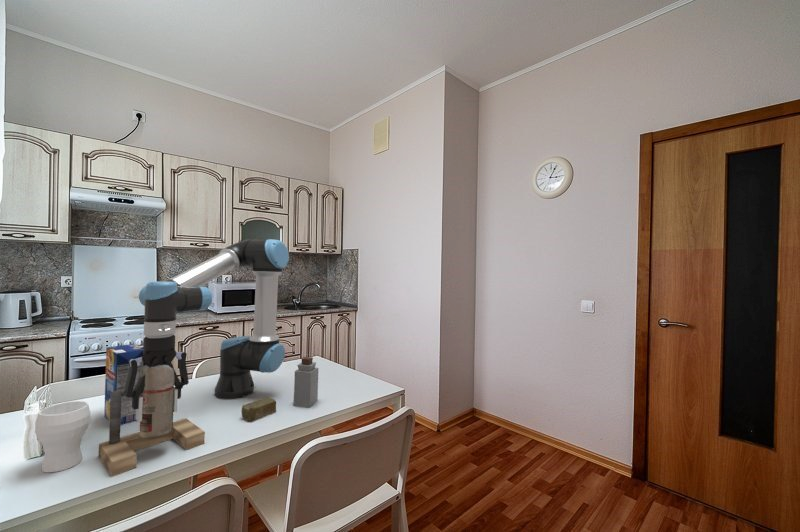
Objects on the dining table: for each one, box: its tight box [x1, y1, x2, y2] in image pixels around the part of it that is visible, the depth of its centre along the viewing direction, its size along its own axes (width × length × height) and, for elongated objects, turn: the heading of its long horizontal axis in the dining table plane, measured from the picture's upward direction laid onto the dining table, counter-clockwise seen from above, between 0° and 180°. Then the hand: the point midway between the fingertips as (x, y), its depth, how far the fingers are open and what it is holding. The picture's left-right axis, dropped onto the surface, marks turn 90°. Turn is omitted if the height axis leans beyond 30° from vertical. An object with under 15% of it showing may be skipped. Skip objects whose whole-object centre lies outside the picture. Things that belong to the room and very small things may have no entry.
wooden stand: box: [98, 391, 206, 477], centre depth 101 cm, size 14×22×18 cm, turn 142°
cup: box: [34, 400, 92, 473], centre depth 93 cm, size 11×11×15 cm
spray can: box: [138, 364, 175, 439], centre depth 100 cm, size 8×8×20 cm
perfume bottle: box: [293, 356, 319, 409], centre depth 138 cm, size 7×7×18 cm
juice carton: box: [103, 343, 145, 426], centre depth 120 cm, size 12×8×24 cm, turn 53°
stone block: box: [241, 396, 277, 422], centre depth 126 cm, size 6×12×5 cm, turn 148°
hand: (156, 414), depth 100 cm, fingers closed on spray can, 8 cm apart
